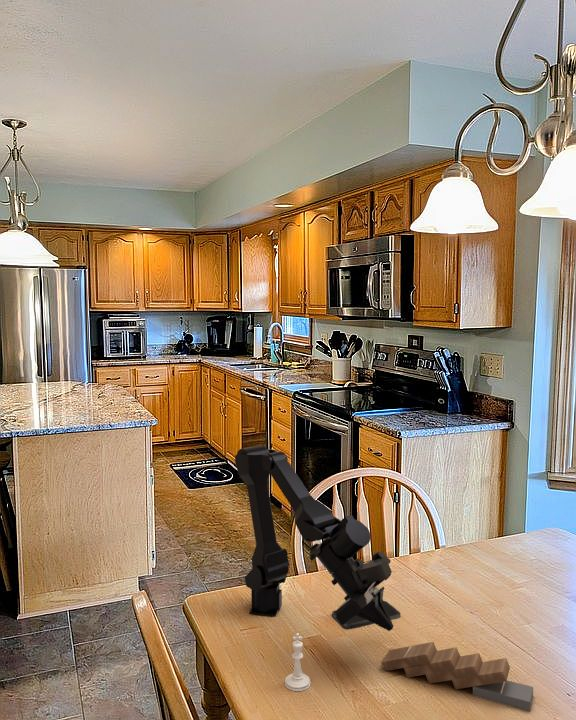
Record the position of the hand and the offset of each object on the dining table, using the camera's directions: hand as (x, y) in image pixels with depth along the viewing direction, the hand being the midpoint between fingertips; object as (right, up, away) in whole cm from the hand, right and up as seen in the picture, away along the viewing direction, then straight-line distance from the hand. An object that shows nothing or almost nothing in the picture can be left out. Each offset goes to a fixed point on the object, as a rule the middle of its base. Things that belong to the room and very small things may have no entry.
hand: (391, 629), depth 125 cm
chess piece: (-19, -8, -5) cm, 21 cm away
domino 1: (-1, -7, +1) cm, 7 cm away
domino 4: (+12, -7, -5) cm, 15 cm away
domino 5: (+15, -7, -7) cm, 18 cm away
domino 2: (+3, -7, -1) cm, 8 cm away
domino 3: (+7, -7, -3) cm, 11 cm away
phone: (-2, -7, +21) cm, 22 cm away
